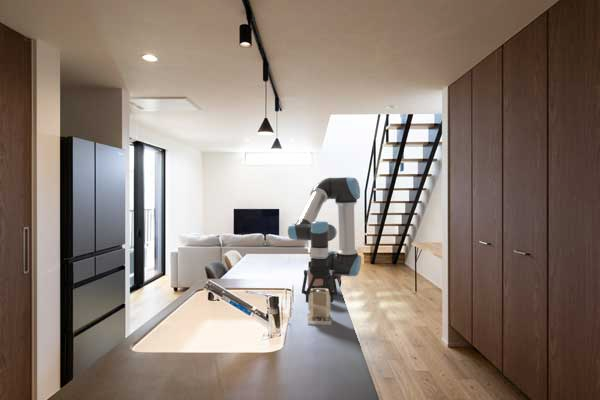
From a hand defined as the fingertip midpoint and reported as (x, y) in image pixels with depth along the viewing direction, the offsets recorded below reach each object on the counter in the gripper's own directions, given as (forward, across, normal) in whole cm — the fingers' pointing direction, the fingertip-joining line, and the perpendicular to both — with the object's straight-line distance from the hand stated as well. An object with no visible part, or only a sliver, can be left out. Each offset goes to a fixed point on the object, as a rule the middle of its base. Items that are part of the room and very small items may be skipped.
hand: (319, 309), depth 158 cm
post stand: (+5, 0, 0) cm, 5 cm away
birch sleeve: (+2, 0, 0) cm, 2 cm away
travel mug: (+5, 0, +31) cm, 32 cm away
